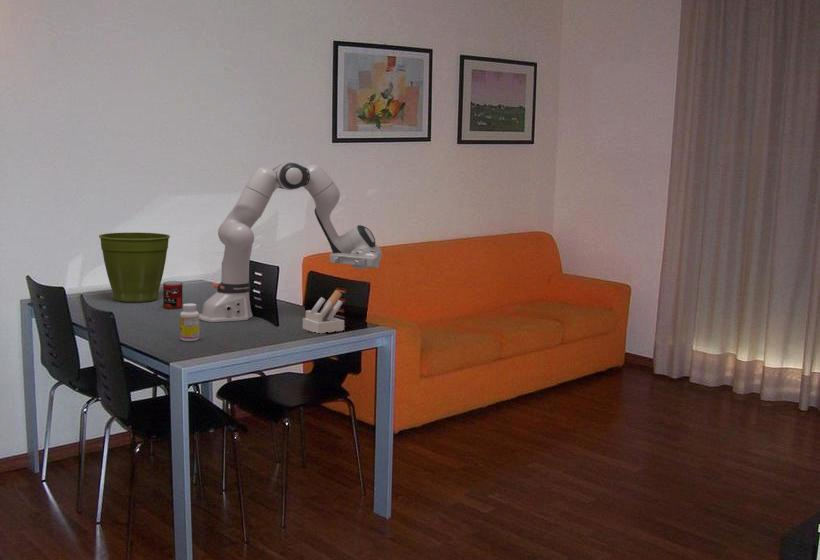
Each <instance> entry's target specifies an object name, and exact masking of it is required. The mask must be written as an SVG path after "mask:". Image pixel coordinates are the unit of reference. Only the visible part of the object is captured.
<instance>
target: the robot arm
mask: <svg viewBox="0 0 820 560" xmlns="http://www.w3.org/2000/svg"><path fill="white" fill-rule="evenodd" d="M278 188H279V189H282V190H287V191H292V190H297V189H301V188H304V189H305V190H306V191H308V193H309V195H310V196H311V197H312V199H313V201H314V203H315V208H314V215H315V218H316V220H317V222H318V224H319V226H320V228H321V230H322V231H323V234H324V236H325V237H326V239H327V241H328V244H329V246H330V250H331V251H332V253H330V254H329V263H331V264H338V265H339V264H340V265H349V266H351V267H353V268H354V269H356V270H363V269H378V268H379V267H380V262H381V260H382V256H383V253H382V252H383V251H382V249H381V248H380V247H379V246H378V245H377V244H376V238H375V236H374V234H373V232H372V231H371V229H369V228H368V227H367V226H364V225H361V224H359V225H357V226H355V227H353V228H351V229H350V230H349V231H346V232H345V233H344V234H341V235H338V233H337V230H336V229H335V227H334V225H333V223H332V220H331V214H332V212H333V211H334V210H335V208H336V206H337V205H338V203H339V200H340V195H341V193H340V190H339V188H338V186H337V185H336V183H335V182H334V180H333V179H332V178H331V176H330V175H329V174H328V173H327V172H326V171H325V170H324V169H323V168H322V167H321V166H320V165H318V164H309V165H307V166H306V167H304V166H303V165H300V164H299V163H295V162H285V163H282V164H279V165H277V166H276V167H274V168H273V169H271V168H269V167H265V166H261V167H259V168H257V169H255V171H254V173H252V175H251V176H250V178H249V180H248V181H247V182H246V184H245V186H244V188H243V190H242V191H241V194H240V196H239V198H238V200H237V201H236V203H235V205H234V206H233V208H232V209H231V211H230V212H229V213H228V215H227V216H226V218H225V219H224V220H223V222H222V223H221V224H220V225H219V227H218V230H217V235H218V239H219V241H220V242H221V244H223V245H224V251H223V252H224V253H223V257H222V261H221V281H220V283H217V282H214V283H213V284H212V288H213V289H217V290H216V292H215V293H214V294H212V296H210V297H209V298H207V300H205V301H204V303H203V305H202V312H201V313H199V321H200V320H201V321H204V322H209V323H210V322H211V323H217V322H218V323H219V322H233V321H235V322H237V321H248V320H249V319H250V318H252V317H253V312H252V308H251V301H250V293H251V283H250V262H251V261H250V260H251V255H252V250H253V249H252V248H253V244H254V241H255V235H254V232H253V230H252V227H253V226H254V225H255V224H256V223H257V221H258V220H259V219H260V218H261V217H262V215H263V213H264V211H265V209H266V208H267V206H268V204H269V202H270V200H271V197H272V196H273V193H275V191H276V190H277V189H278Z"/></svg>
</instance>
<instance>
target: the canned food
mask: <svg viewBox="0 0 820 560" xmlns="http://www.w3.org/2000/svg"><path fill="white" fill-rule="evenodd" d="M162 284H163V285H162V287H163V288H162V289H163V290H162V291H163V292H162V293H163V295H162V296H163V299H162V300H163V302H162V303H163V308H164V309H165V310H180V309H183V282H182V281H178V280H168V281H163V283H162Z"/></svg>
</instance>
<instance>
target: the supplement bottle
mask: <svg viewBox="0 0 820 560" xmlns="http://www.w3.org/2000/svg"><path fill="white" fill-rule="evenodd" d="M182 309H183V311H181V312H180V314H179V338H180V340H181V341H182V342H194V341H199V339H200V319H199V314H200V313H199V311H198V310H197V304H196V303H191V302H190V303H184V304H183V303H182Z"/></svg>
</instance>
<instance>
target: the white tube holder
mask: <svg viewBox="0 0 820 560" xmlns="http://www.w3.org/2000/svg"><path fill="white" fill-rule="evenodd" d="M328 300H329V298H328V299H327V301H328ZM327 301H326V299H325V298H324V297H322V296H321V297H320V298H319V299H318V300H317V302H316V303H315V304H314V306H313V307H312V309H308V310H305V317H303V318H302V329H303V330H306V331H309V332H312V333H314V332H316V333H315V334H317V333H320V334H326V332H328V333H333V332H335V331H336V332H343V330H344V331H345V320H344V319H341V318H338V317H335V315H336V314H337V312H338V311H339V309H340V308H341V306H342V305H343V301H341V300H340V299H339V300H338V301H337V303H336V304H335V306H334V307H333V308H332V310H331V311H330V313H329V314H328V316H327V317H326V318H324V316H325V315H326V313H327V312H328V310H329V309H330V307H331V306H332V305H333V303H331V302H330V301H328V303H327ZM326 303H327V304H326ZM325 304H326V306H325ZM322 305H323V307H324V306H325V307H324V308H323V307H322ZM322 308H323V310H322ZM320 309H321V310H322V311H321V310H320ZM320 311H321V313H320Z"/></svg>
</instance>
